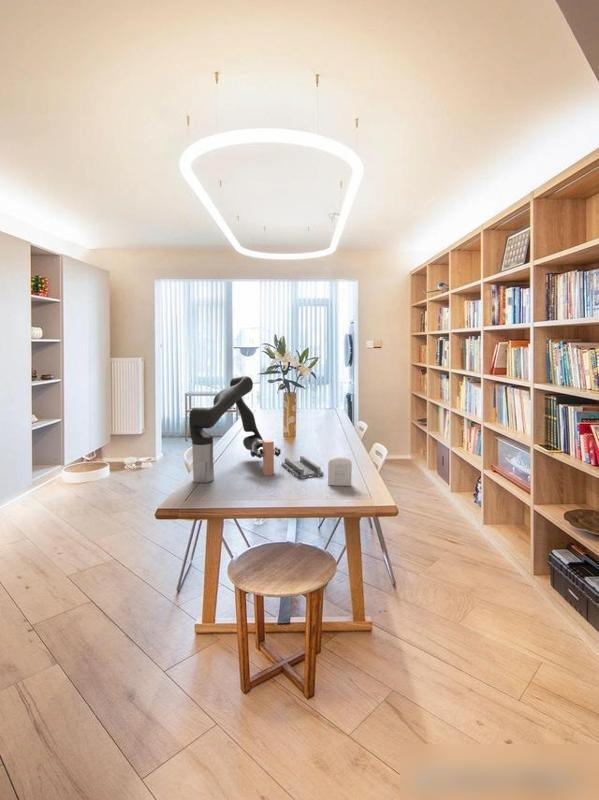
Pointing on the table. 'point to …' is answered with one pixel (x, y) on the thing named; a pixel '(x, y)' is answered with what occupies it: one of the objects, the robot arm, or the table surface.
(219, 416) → the robot arm
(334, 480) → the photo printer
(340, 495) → the table surface
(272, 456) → the panel block
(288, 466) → the track
